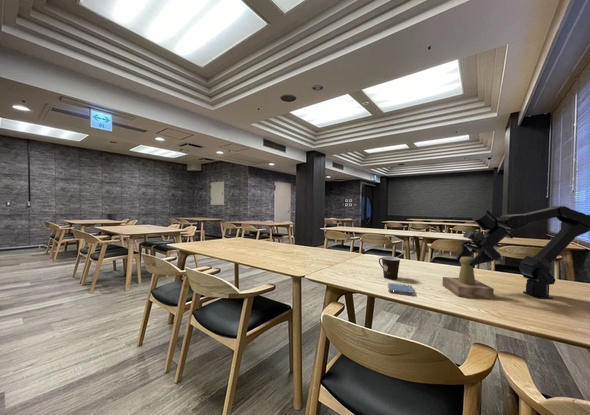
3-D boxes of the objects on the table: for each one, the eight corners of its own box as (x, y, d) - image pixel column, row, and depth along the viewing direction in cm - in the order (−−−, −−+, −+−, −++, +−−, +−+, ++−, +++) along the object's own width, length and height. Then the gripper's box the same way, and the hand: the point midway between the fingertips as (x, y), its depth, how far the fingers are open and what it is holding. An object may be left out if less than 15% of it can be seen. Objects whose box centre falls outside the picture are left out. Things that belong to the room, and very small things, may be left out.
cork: (473, 285, 96) (474, 259, 96) (456, 282, 101) (456, 256, 101) (476, 282, 100) (477, 257, 100) (460, 279, 105) (460, 254, 105)
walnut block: (473, 287, 106) (473, 278, 106) (493, 298, 94) (493, 288, 94) (442, 285, 108) (442, 277, 108) (458, 296, 95) (458, 286, 95)
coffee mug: (402, 280, 115) (403, 260, 115) (385, 280, 115) (385, 260, 115) (393, 273, 126) (393, 255, 126) (377, 273, 126) (377, 255, 126)
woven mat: (412, 289, 105) (412, 284, 105) (415, 297, 95) (416, 292, 95) (387, 286, 108) (387, 281, 108) (388, 294, 98) (388, 289, 98)
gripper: (464, 222, 109) (438, 245, 111) (493, 226, 91) (461, 253, 92) (482, 239, 108) (456, 262, 110) (515, 247, 90) (483, 274, 91)
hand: (463, 262), depth 101 cm, fingers open, 9 cm apart
